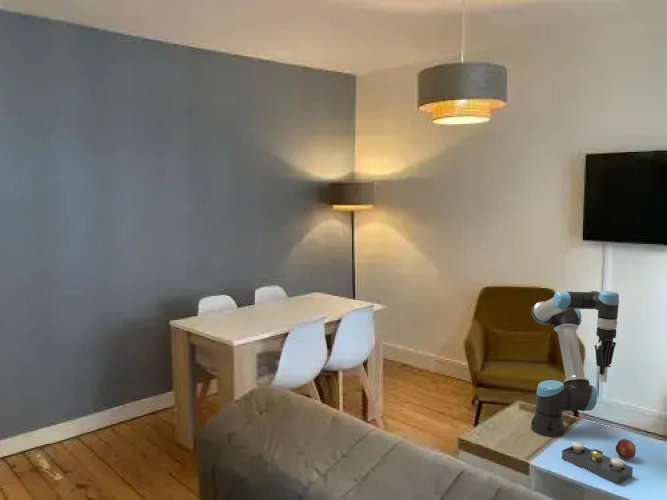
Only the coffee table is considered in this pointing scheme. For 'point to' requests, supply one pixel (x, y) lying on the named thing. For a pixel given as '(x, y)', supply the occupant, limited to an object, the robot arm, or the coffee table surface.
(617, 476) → the panel
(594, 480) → the coffee table surface
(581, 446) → the knob
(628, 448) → the fruit
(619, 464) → the knob
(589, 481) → the coffee table surface
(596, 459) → the brass dial
